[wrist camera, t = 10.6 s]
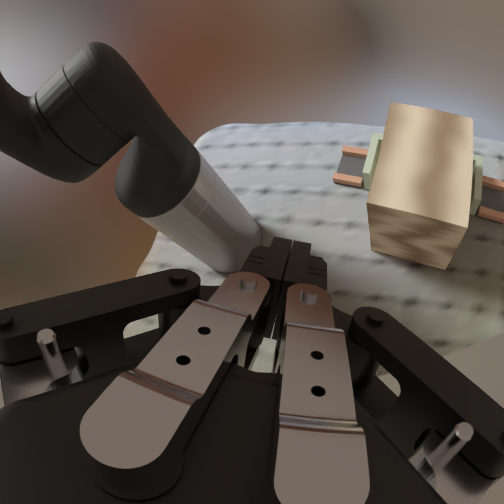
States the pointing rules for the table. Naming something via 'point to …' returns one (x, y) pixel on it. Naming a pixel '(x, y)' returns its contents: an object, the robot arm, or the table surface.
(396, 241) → the ash block
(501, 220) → the grey-green piece
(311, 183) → the table surface
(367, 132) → the table surface
